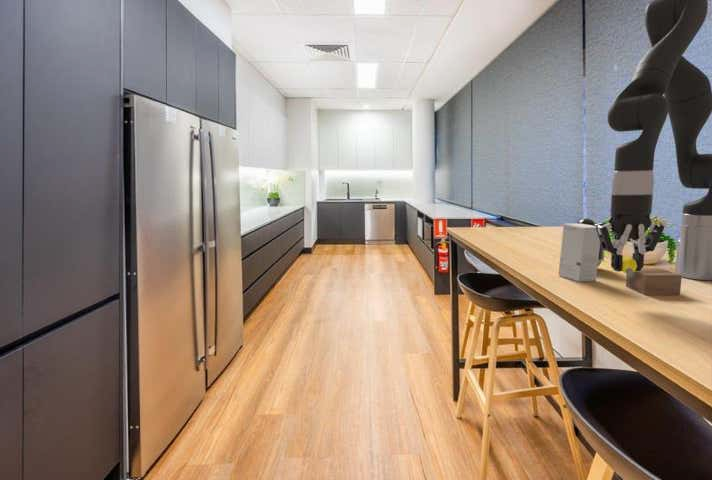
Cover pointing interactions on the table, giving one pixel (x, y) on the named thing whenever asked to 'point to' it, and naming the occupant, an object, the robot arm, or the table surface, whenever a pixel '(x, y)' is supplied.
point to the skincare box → (579, 252)
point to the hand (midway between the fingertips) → (626, 270)
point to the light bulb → (629, 266)
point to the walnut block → (654, 282)
